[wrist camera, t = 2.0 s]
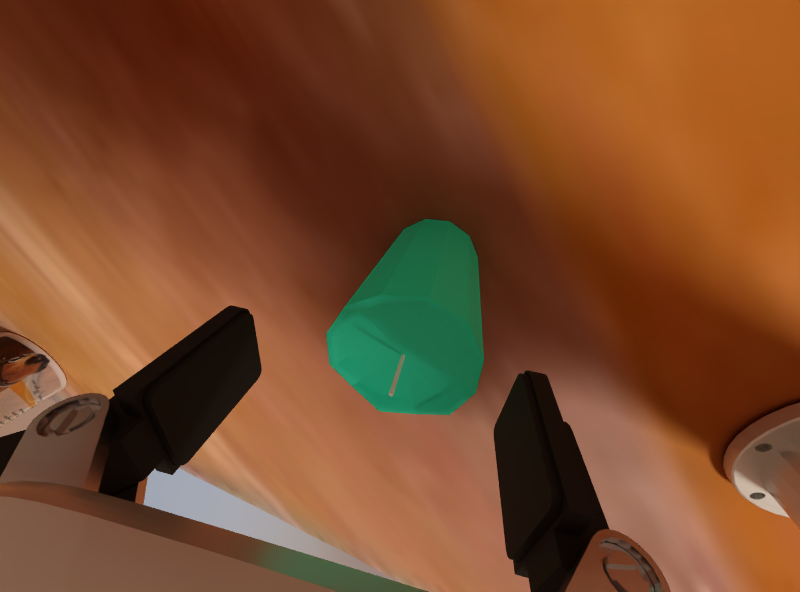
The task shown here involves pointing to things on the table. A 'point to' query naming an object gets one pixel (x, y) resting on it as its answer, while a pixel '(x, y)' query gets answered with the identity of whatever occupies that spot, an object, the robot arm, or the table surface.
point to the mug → (25, 376)
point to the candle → (415, 324)
